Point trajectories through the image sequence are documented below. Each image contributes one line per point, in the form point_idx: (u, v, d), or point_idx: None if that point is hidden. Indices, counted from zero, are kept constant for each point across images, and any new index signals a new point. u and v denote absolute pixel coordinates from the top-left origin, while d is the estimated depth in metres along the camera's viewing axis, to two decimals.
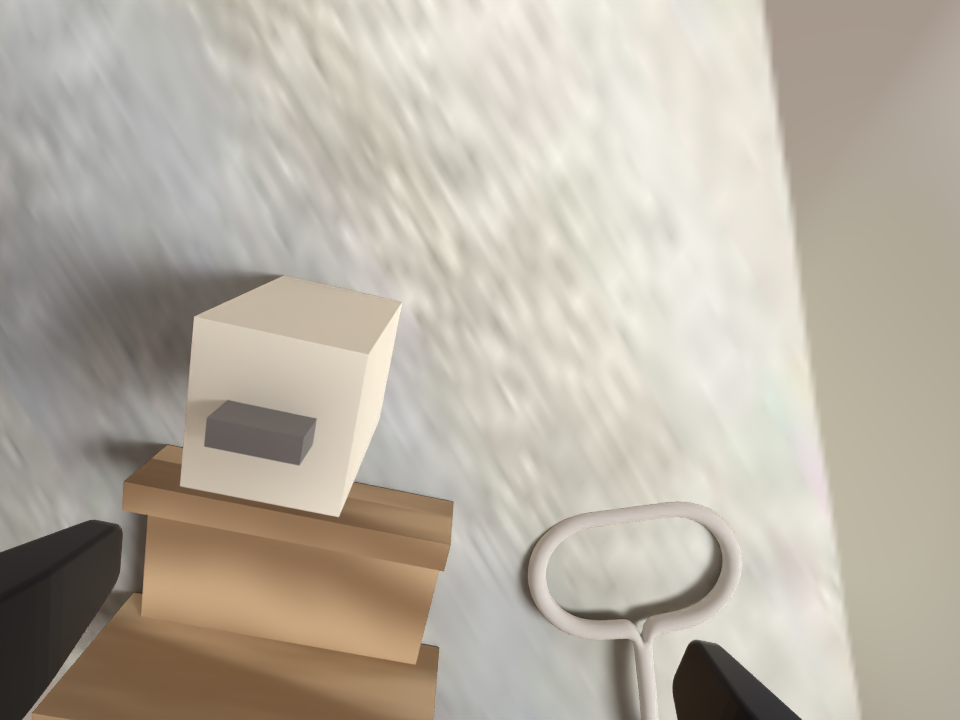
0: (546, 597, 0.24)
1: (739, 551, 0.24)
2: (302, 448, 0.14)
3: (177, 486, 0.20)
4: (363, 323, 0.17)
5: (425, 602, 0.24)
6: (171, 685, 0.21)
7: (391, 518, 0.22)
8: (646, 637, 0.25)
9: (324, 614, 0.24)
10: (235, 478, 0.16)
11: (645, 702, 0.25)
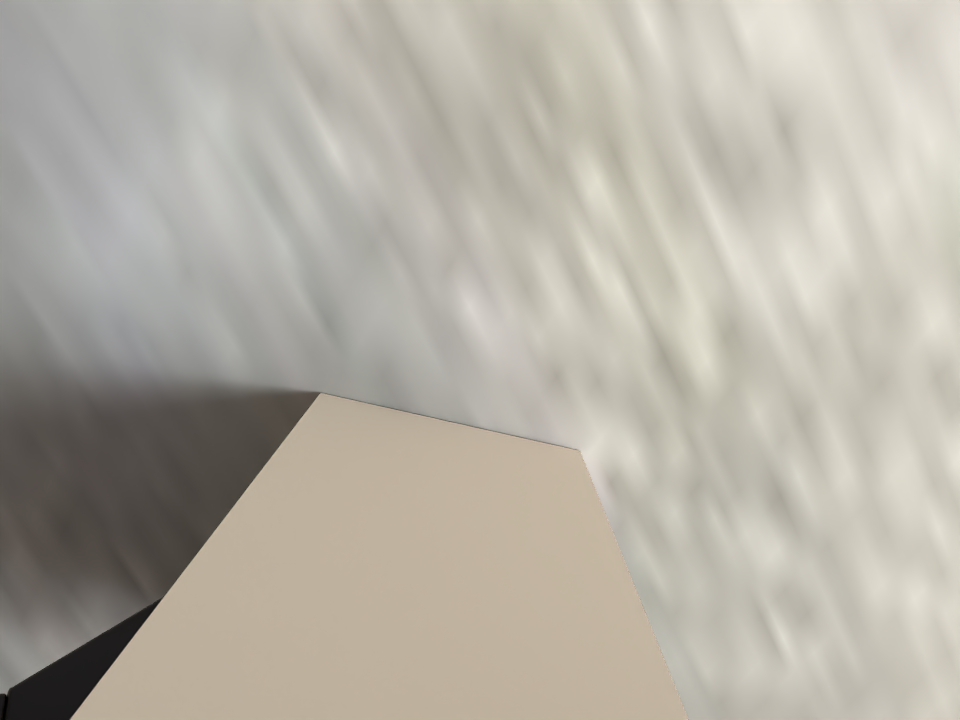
0: None
1: None
2: None
3: None
4: (589, 623, 0.06)
5: None
6: None
7: None
8: None
9: None
10: None
11: None
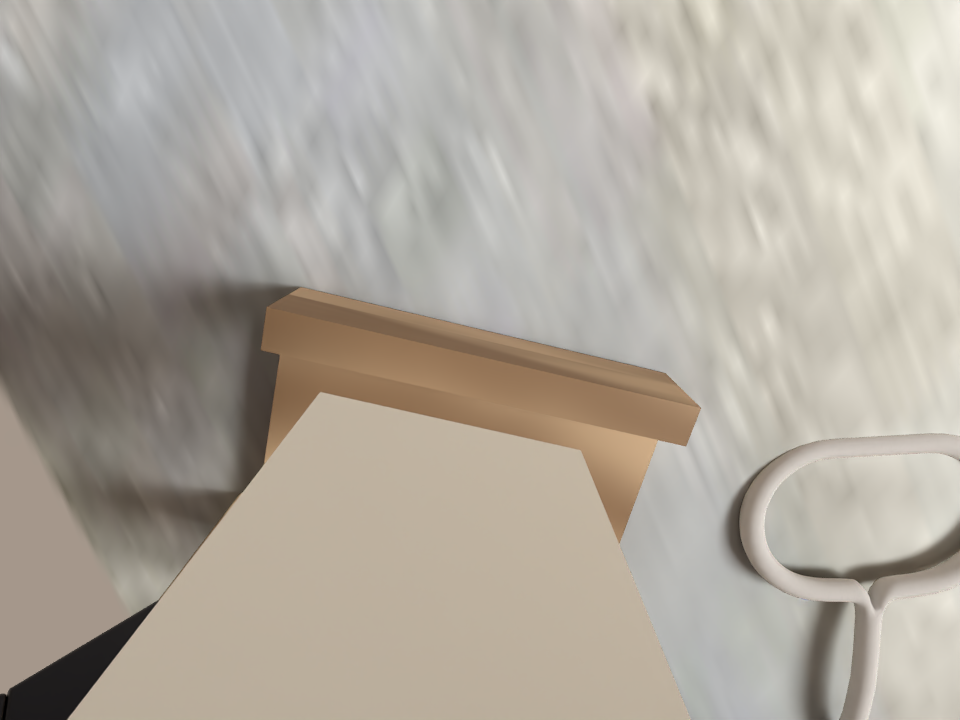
0: (764, 542, 0.20)
1: None
2: None
3: (336, 319, 0.15)
4: (591, 623, 0.05)
5: (626, 503, 0.18)
6: None
7: (611, 377, 0.16)
8: (878, 602, 0.20)
9: None
10: None
11: (863, 683, 0.20)
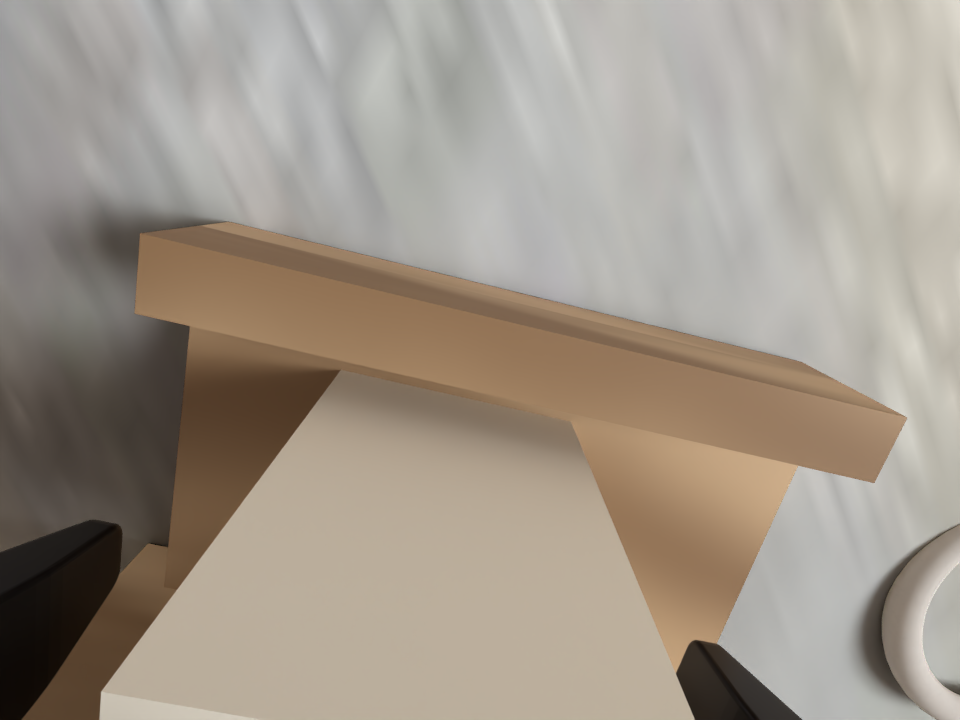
0: (922, 652, 0.13)
1: None
2: None
3: (270, 259, 0.08)
4: (574, 546, 0.07)
5: (741, 565, 0.12)
6: None
7: (740, 365, 0.10)
8: None
9: None
10: None
11: None
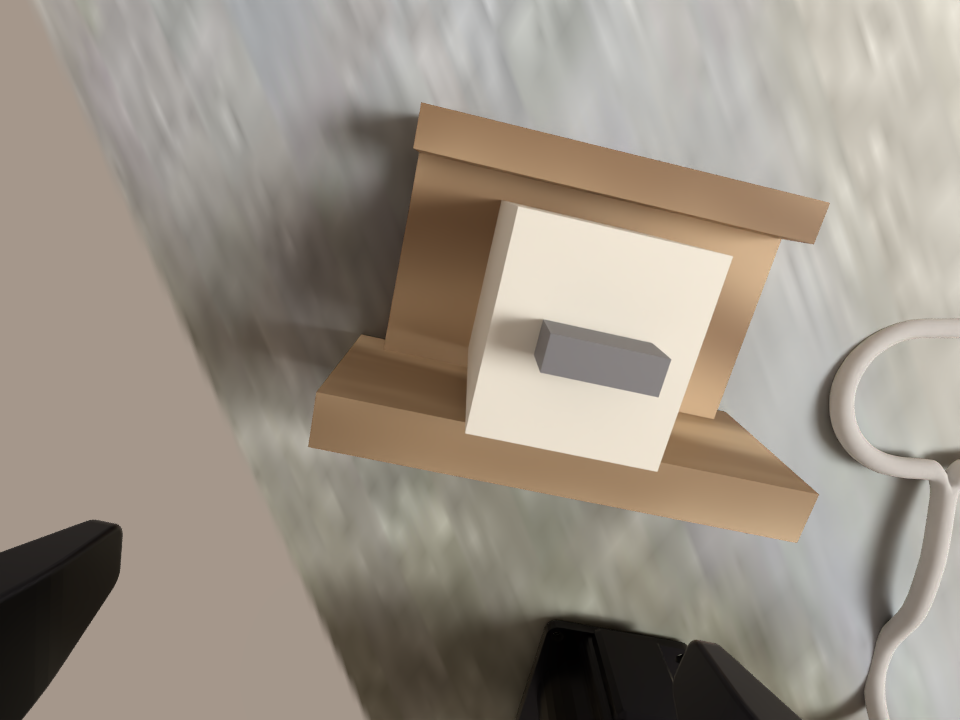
0: (854, 415, 0.21)
1: None
2: (664, 374, 0.11)
3: None
4: (657, 237, 0.14)
5: (741, 327, 0.19)
6: (460, 396, 0.16)
7: None
8: (955, 480, 0.21)
9: None
10: (536, 422, 0.12)
11: (934, 560, 0.22)
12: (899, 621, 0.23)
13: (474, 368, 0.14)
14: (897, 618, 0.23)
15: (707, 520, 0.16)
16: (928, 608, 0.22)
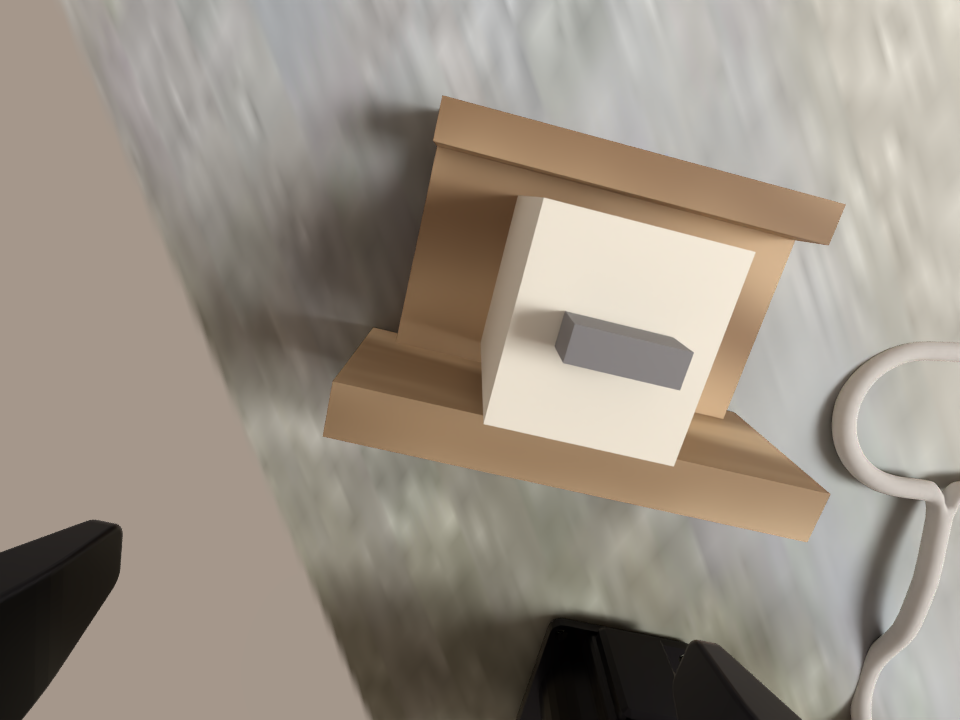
0: (856, 433, 0.21)
1: None
2: (686, 368, 0.11)
3: None
4: None
5: (752, 328, 0.19)
6: (474, 389, 0.16)
7: None
8: (951, 502, 0.21)
9: None
10: (554, 414, 0.12)
11: (927, 580, 0.22)
12: (889, 639, 0.23)
13: (491, 360, 0.14)
14: (887, 636, 0.24)
15: (718, 518, 0.16)
16: (918, 627, 0.23)
